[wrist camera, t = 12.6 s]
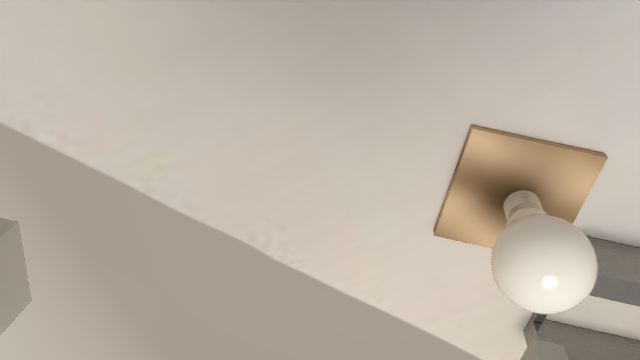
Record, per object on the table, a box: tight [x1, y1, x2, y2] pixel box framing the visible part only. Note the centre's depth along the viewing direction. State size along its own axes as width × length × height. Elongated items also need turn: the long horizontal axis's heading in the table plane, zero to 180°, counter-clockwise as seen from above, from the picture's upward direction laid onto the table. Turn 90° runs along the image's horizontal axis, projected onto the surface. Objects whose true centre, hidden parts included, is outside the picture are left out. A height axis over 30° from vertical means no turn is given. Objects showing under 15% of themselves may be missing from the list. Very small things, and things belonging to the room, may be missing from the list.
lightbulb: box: [491, 190, 598, 314], centre depth 35 cm, size 6×6×11 cm
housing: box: [524, 236, 640, 360], centre depth 42 cm, size 12×12×5 cm
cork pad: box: [434, 126, 608, 248], centre depth 40 cm, size 10×10×1 cm
